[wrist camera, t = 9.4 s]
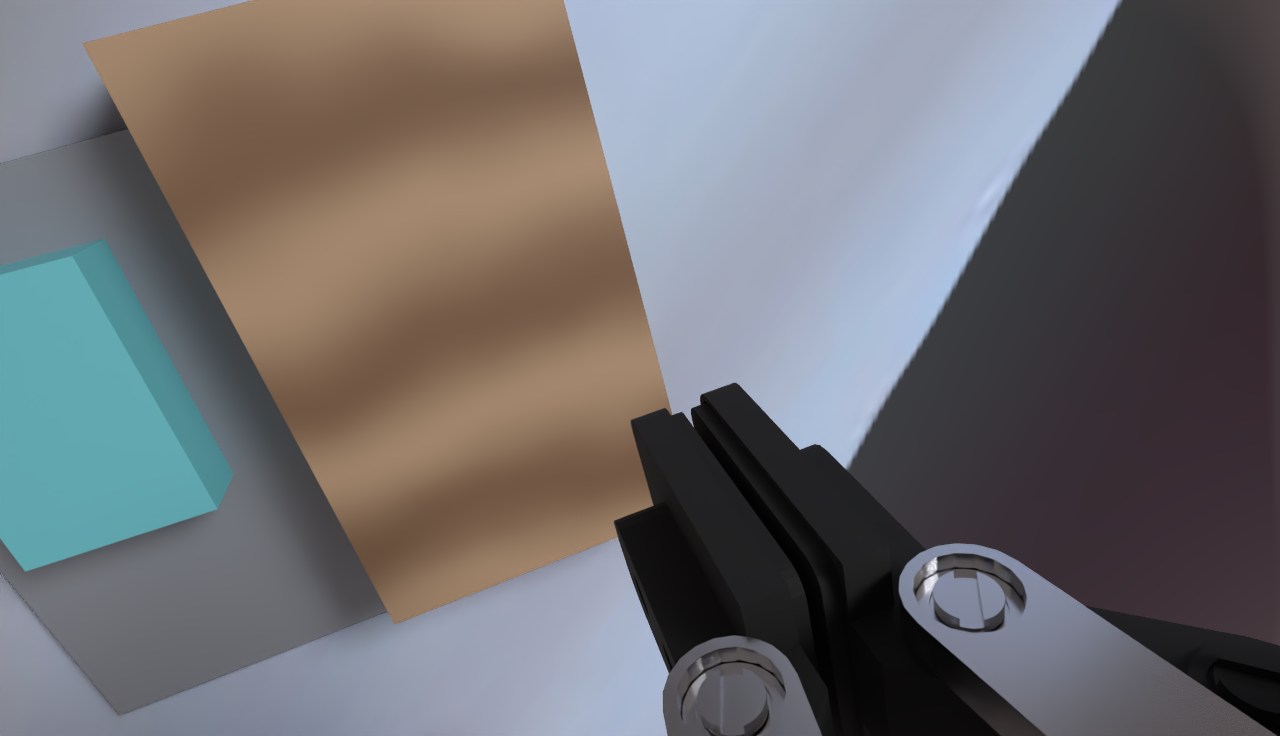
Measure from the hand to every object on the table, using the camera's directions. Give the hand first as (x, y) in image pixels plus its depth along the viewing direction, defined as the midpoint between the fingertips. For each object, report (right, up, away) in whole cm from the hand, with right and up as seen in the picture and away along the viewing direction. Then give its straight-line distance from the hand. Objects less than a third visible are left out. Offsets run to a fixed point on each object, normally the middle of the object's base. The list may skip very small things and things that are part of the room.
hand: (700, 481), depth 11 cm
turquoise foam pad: (-19, 0, +11) cm, 22 cm away
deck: (-8, +5, +16) cm, 18 cm away
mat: (-19, -1, +15) cm, 24 cm away
